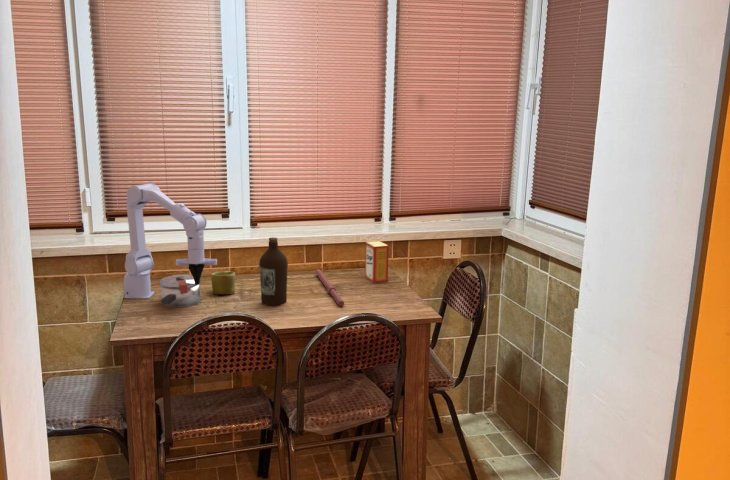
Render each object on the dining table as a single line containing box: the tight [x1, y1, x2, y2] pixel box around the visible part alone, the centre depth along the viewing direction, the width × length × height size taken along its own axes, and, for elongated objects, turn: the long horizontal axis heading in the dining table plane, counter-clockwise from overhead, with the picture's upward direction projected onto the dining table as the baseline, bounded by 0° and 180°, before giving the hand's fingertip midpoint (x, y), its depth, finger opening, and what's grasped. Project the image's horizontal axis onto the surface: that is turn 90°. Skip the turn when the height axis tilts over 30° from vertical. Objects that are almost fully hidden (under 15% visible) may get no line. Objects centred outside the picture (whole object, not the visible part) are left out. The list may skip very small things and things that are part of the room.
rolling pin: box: [315, 269, 345, 308], centre depth 261 cm, size 45×3×3 cm, turn 15°
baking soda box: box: [364, 240, 389, 284], centre depth 276 cm, size 10×6×16 cm
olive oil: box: [258, 236, 289, 307], centre depth 242 cm, size 11×11×25 cm
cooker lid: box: [159, 273, 196, 294], centre depth 239 cm, size 21×15×3 cm
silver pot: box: [160, 283, 201, 308], centre depth 240 cm, size 20×14×7 cm
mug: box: [210, 270, 236, 296], centre depth 256 cm, size 12×10×10 cm
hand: (197, 283), depth 237 cm, fingers closed
